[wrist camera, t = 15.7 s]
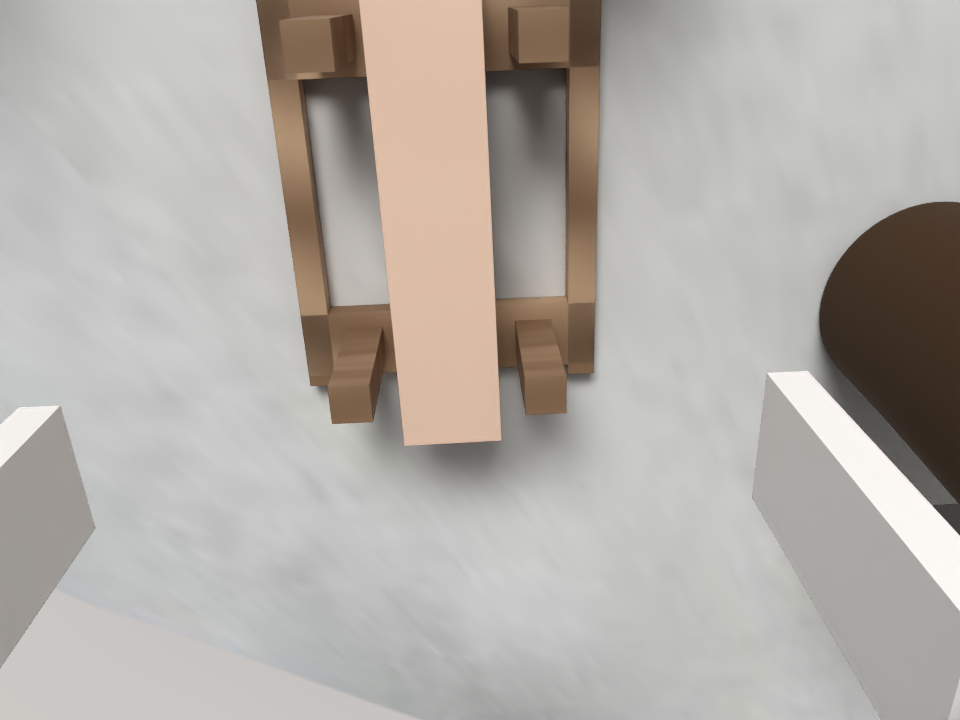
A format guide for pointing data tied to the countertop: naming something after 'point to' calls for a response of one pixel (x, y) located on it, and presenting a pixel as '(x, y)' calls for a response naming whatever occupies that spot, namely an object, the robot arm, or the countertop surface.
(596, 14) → the rack
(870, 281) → the olive oil
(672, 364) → the countertop surface
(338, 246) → the countertop surface
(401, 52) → the clay strip
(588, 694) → the countertop surface
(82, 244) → the countertop surface
